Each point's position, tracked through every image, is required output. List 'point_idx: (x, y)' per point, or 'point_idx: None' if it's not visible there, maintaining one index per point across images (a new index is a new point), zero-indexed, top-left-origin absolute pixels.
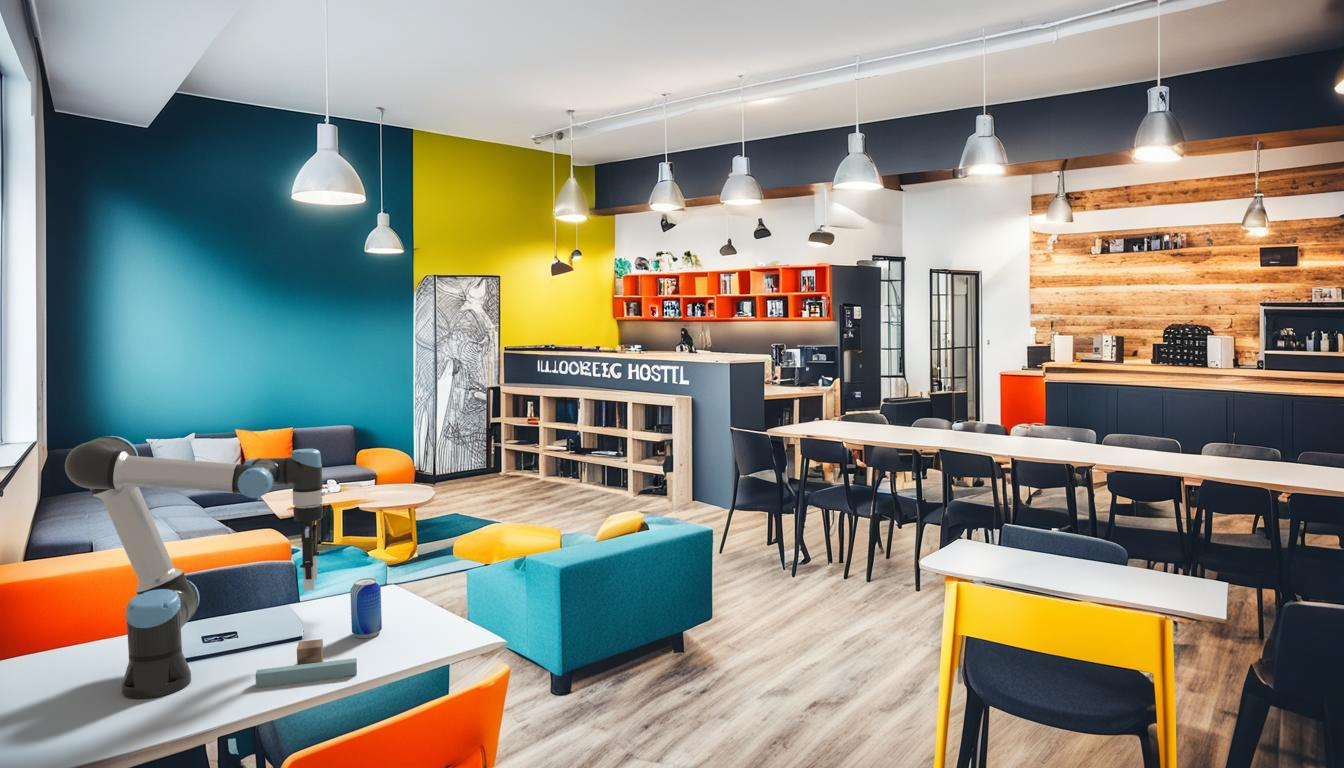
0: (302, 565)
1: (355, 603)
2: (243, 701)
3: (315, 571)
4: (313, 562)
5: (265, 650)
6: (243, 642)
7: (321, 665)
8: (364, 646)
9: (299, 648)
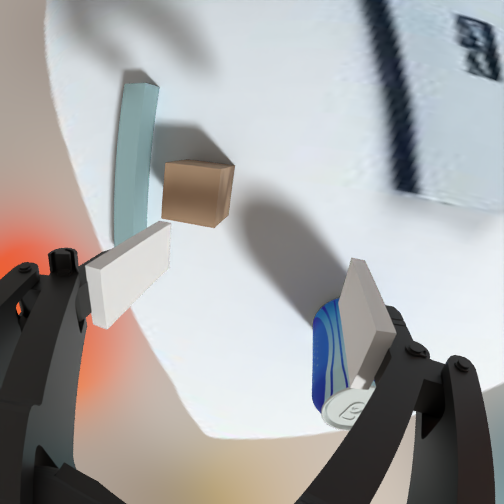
0: (21, 265)
1: (332, 348)
2: (97, 79)
3: (344, 319)
4: (354, 345)
5: (359, 101)
6: (433, 71)
7: (118, 208)
8: (271, 302)
9: (169, 169)
